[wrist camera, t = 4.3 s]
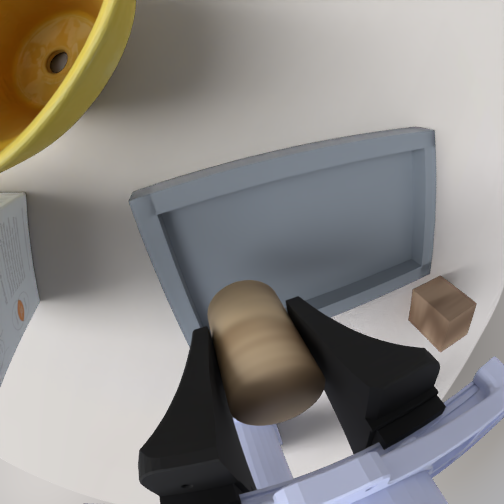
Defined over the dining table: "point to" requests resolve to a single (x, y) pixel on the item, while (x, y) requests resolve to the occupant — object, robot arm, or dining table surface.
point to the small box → (15, 276)
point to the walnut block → (441, 312)
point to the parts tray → (296, 223)
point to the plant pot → (40, 75)
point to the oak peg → (261, 355)
